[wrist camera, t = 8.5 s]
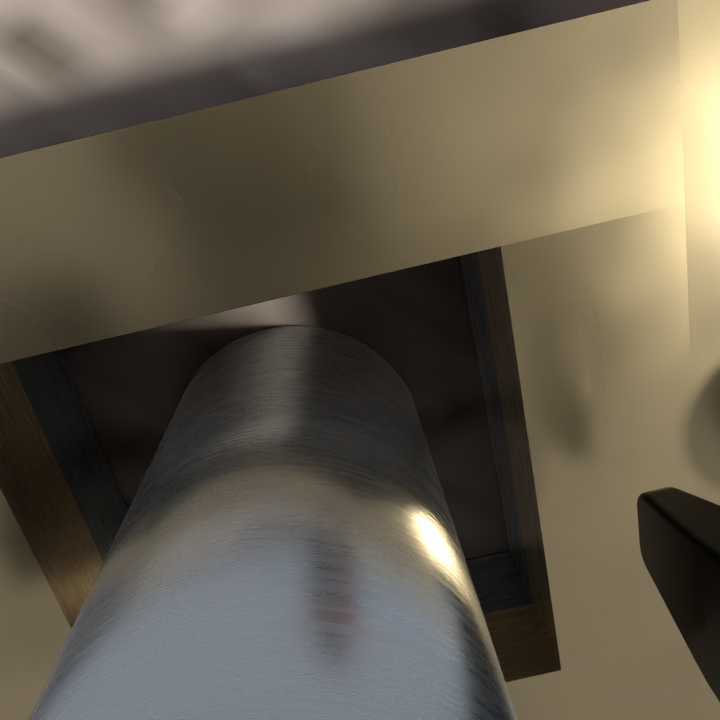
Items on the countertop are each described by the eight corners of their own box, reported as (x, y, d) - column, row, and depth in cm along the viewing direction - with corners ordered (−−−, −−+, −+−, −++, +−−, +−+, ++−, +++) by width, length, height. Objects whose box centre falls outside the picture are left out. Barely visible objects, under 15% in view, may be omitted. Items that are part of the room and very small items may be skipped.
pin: (438, 513, 13) (669, 1295, 4) (217, 562, 13) (25, 1418, 4) (393, 299, 11) (626, 890, 3) (140, 358, 11) (-397, 1103, 3)
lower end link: (625, 611, 14) (688, 712, 12) (-64, 762, 14) (-139, 890, 12) (573, 27, 10) (654, 0, 7) (-402, 263, 10) (-619, 309, 8)
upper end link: (809, 571, 14) (991, 741, 10) (111, 724, 14) (36, 944, 10) (837, -36, 10) (1167, -131, 6) (-157, 204, 10) (-442, 260, 6)
